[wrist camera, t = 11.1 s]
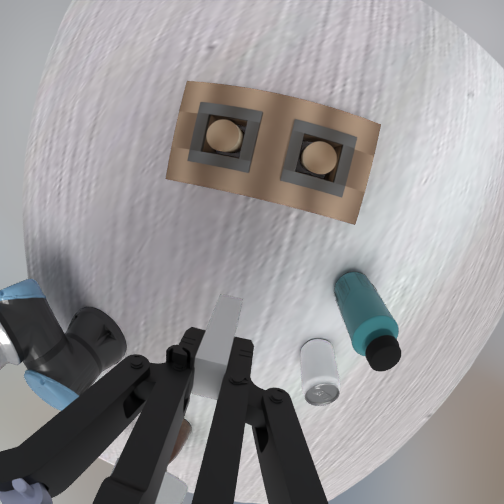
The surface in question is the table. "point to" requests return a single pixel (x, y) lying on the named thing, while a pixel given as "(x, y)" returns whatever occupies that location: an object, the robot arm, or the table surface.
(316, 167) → the peg
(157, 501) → the lamp
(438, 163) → the table surface
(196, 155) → the walnut block
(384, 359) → the beverage bottle
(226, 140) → the peg
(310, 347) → the can
